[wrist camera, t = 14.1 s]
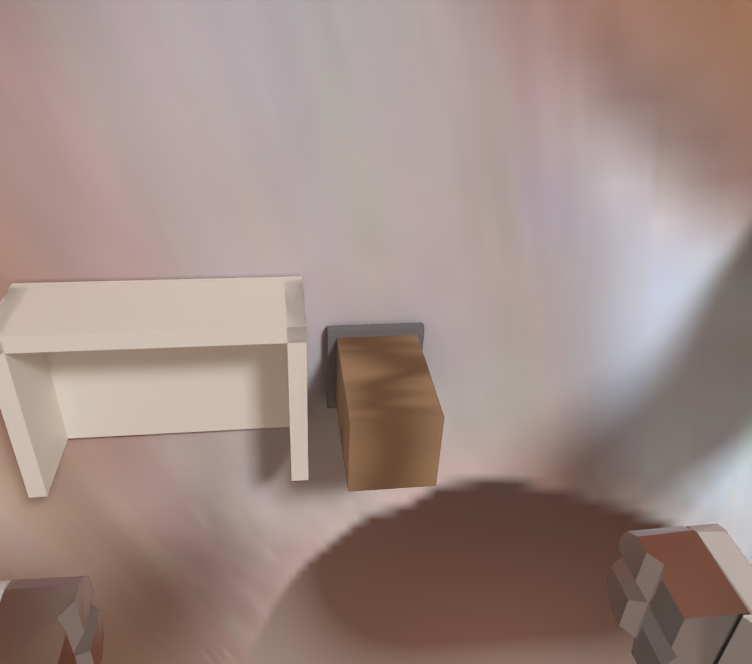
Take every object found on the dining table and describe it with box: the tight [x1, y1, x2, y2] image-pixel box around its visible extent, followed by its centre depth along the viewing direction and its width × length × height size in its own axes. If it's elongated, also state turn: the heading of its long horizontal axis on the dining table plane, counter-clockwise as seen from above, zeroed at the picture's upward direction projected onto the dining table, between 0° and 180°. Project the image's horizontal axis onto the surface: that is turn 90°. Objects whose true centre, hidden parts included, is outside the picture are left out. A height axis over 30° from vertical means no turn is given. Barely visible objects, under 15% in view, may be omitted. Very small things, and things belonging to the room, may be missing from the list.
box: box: [0, 276, 308, 498], centre depth 40 cm, size 16×11×6 cm
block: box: [336, 335, 444, 491], centre depth 41 cm, size 5×5×8 cm
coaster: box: [327, 323, 424, 408], centre depth 44 cm, size 6×6×1 cm
